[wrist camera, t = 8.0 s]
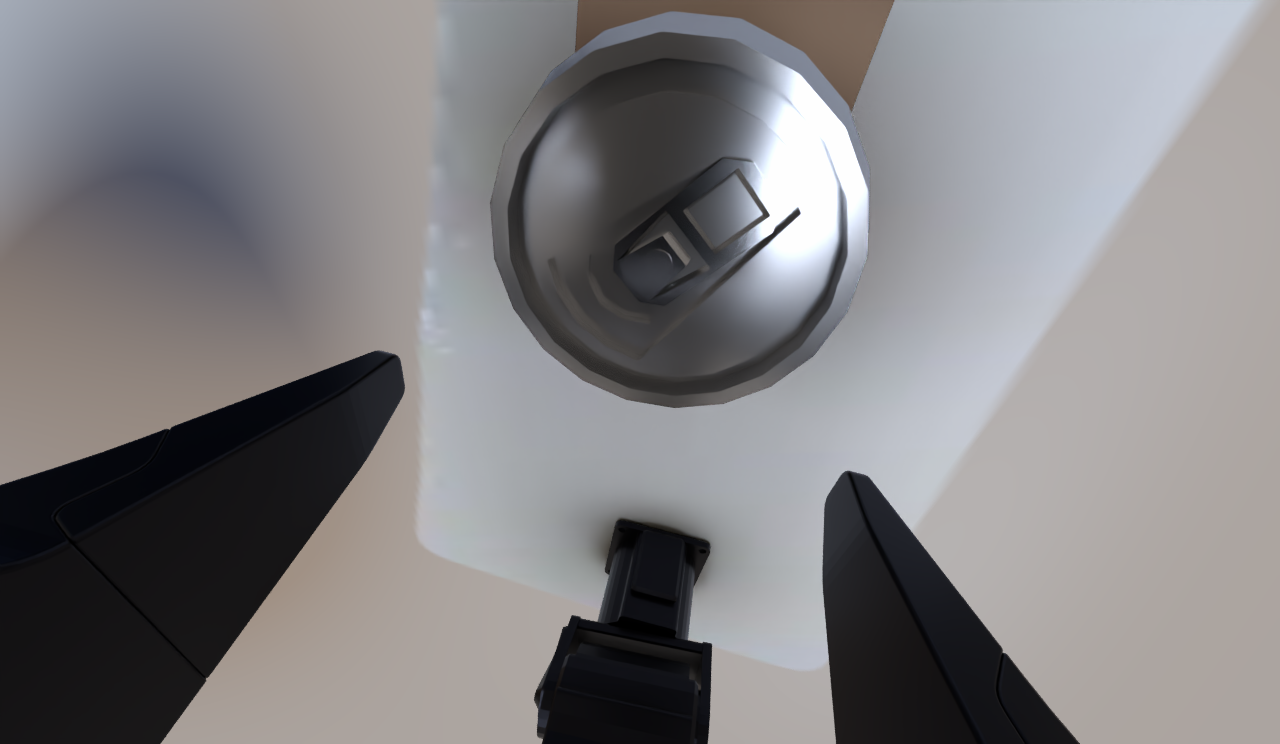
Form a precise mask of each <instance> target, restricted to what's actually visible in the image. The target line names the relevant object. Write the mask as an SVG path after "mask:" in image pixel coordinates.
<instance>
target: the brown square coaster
mask: <svg viewBox="0 0 1280 744" xmlns="http://www.w3.org/2000/svg"><path fill="white" fill-rule="evenodd" d="M893 2H894V0H578V13H577V30H576V46H575V53H576V52H577V51H578V50H579V49H581V48H582V47H583V46H585V45H586V44H587V43H589V42H590V41H591V40H593V39H594V38H595V37H596V36H598V35H599V34H600V33H602V32H603V31H604V30H608V29H611V28H614V27H618V26H621V25H625V24H628V23H632V22H635V21H639V20H642V19H645V18H649V17H652V16H656V15H659V14H663V13H666V12H670V11H675V12H684V13H694V14H704V15H714V16H723V17H733V18H742V19H743V20H745V21H747V22H749V23H751V24H753V25H755V26H757V27H758V28H760V29H762V30H764V31H766V32H768V33H770V34H771V35H773V36H775V37H777V38H779V39H781V40H783V41H785V42H786V43H788V44H790V45H792V46H794V47H796V48H798V49H799V50H801V51H803V52H804V53H805V54H806V55H807V56H808V58H809V59H810V60H811V61H812V62H813V63H814V65H815V66H816V67H817V68H818V69H819V71H820V72H821V73H822V74H823V75H824V77H825V78H826V79H827V80H828V81H829V83H830V84H831V85H832V86H833V87H834V89H835V90H836V91H837V92H838V93H839V95H840V96H841V97H842V98H843V99H844V101H845V102H846V103H847V104H848V106H849V109H850V112H851V111H852V108H853V106H854V103H855V101H856V98H857V95H858V93H859V90H860V88H861V85H862V83H863V80H864V77H865V75H866V72H867V70H868V67H869V64H870V62H871V59H872V57H873V54H874V52H875V49H876V46H877V44H878V41H879V39H880V36H881V33H882V31H883V28H884V26H885V23H886V21H887V18H888V15H889V13H890V10H891V8H892V5H893Z"/></svg>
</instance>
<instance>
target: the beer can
mask: <svg viewBox="0 0 1280 744" xmlns="http://www.w3.org/2000/svg"><path fill="white" fill-rule="evenodd" d="M869 200H870V167H869V164H868V161H867V158H866V155H865V152H864V149H863V146H862V144H861V141H860V138H859V135H858V132H857V129H856V126H855V123H854V120H853V117H852V114H851V112H850V109H849V106H848V104H847V103H846V102H845V101H844V99H843V98H842V97H841V96H840V95H839V93H838V92H837V91H836V90H835V89H834V87H833V86H832V85H831V84H830V83H829V81H828V80H827V79H826V78H825V77H824V75H823V74H822V73H821V72H820V71H819V69H818V68H817V67H816V66H815V65H814V63H813V62H812V61H811V60H810V59H809V58H808V56H807V55H806V54H805V53H804V52H803V51H801V50H799V49H798V48H796V47H794V46H792V45H790V44H788V43H786V42H785V41H783V40H781V39H779V38H777V37H775V36H773V35H771V34H770V33H768V32H766V31H764V30H762V29H760V28H758V27H757V26H755V25H753V24H751V23H749V22H747V21H745V20H743V19H742V18H733V17H723V16H714V15H704V14H694V13H684V12H675V11H670V12H666V13H663V14H659V15H656V16H652V17H649V18H645V19H642V20H639V21H635V22H632V23H628V24H625V25H621V26H618V27H614V28H611V29H608V30H604V31H603V32H602V33H600V34H599V35H598V36H596V37H595V38H594V39H593V40H591V41H590V42H589V43H587V44H586V45H585V46H583V47H582V48H581V49H579V50H578V51H577V52H576V53H574V54H573V55H572V56H570V57H569V58H568V59H566V60H565V61H564V62H562V63H561V64H560V65H559V66H557V67H556V68H555V69H553V70H552V71H551V72H550V74H549V76H548V77H547V79H546V80H545V82H544V83H543V85H542V87H541V88H540V90H539V91H538V93H537V94H536V96H535V97H534V99H533V101H532V102H531V104H530V105H529V107H528V108H527V110H526V111H525V113H524V115H523V116H522V118H521V119H520V121H519V122H518V124H517V126H516V127H515V129H514V131H513V132H512V134H511V135H510V137H509V138H508V140H507V141H506V143H505V145H504V148H503V152H502V156H501V160H500V165H499V169H498V173H497V177H496V181H495V185H494V190H493V194H492V198H491V202H490V207H491V220H492V233H493V246H494V259H495V262H496V264H497V267H498V270H499V272H500V275H501V277H502V280H503V283H504V285H505V288H506V290H507V293H508V296H509V298H510V301H511V303H512V306H513V309H514V310H515V311H516V313H517V314H518V315H519V317H520V318H521V319H522V321H523V322H524V323H525V325H526V326H527V328H528V329H529V330H530V332H531V333H532V334H533V336H534V337H535V338H536V340H537V341H538V342H539V344H540V345H541V346H542V348H543V349H544V350H545V351H546V352H548V353H549V354H550V355H551V356H553V357H554V358H555V359H556V360H558V361H559V362H560V363H561V364H563V365H564V366H565V367H567V368H568V369H569V370H570V371H572V372H573V373H574V374H575V375H577V376H578V377H579V378H580V379H582V380H583V381H585V382H588V383H590V384H592V385H594V386H597V387H599V388H601V389H603V390H606V391H608V392H610V393H612V394H615V395H617V396H619V397H621V398H624V399H626V400H631V401H636V402H642V403H648V404H654V405H660V406H666V407H672V408H680V407H691V406H703V405H715V404H724V403H727V402H730V401H732V400H735V399H738V398H741V397H743V396H746V395H749V394H752V393H754V392H757V391H760V390H763V389H766V388H768V387H771V386H772V385H774V384H775V383H776V382H778V381H779V380H781V379H782V378H783V377H785V376H786V375H788V374H789V373H790V372H792V371H793V370H795V369H796V368H797V367H799V366H800V365H802V364H803V363H804V362H806V361H807V360H809V359H810V358H811V357H813V356H814V355H815V353H816V352H817V351H818V350H819V348H820V347H821V346H822V344H823V343H824V342H825V340H826V339H827V338H828V337H829V335H830V334H831V333H832V331H833V330H834V329H835V327H836V326H837V325H838V324H839V322H840V321H841V320H842V318H843V317H844V316H845V314H846V313H847V312H848V309H849V306H850V304H851V301H852V298H853V295H854V293H855V290H856V287H857V284H858V281H859V279H860V276H861V273H862V270H863V267H864V265H865V262H866V259H867V256H868V233H869Z"/></svg>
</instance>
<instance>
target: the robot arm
mask: <svg viewBox="0 0 1280 744" xmlns="http://www.w3.org/2000/svg"><path fill="white" fill-rule="evenodd" d="M404 390H405V384H404V378H403V372H402V366H401V361H400V358H399V357H398V356H397V355H395V354H392V353H388V352H384V351H374V352H371V353H368V354H365V355H363V356H360V357H358V358H355V359H352V360H349V361H347V362H344V363H341V364H339V365H336V366H333V367H331V368H328V369H325V370H323V371H320V372H317V373H315V374H312V375H309V376H307V377H304V378H301V379H299V380H296V381H293V382H291V383H288V384H285V385H283V386H280V387H277V388H275V389H272V390H269V391H267V392H264V393H261V394H259V395H256V396H253V397H251V398H248V399H245V400H242V401H240V402H237V403H234V404H232V405H229V406H226V407H224V408H221V409H218V410H216V411H213V412H210V413H208V414H205V415H202V416H199V417H197V418H194V419H192V420H189V421H186V422H183V423H181V424H178V425H175V426H173V427H171V429H170V430H169V429H164V430H162V431H159V432H157V433H154V434H151V435H149V436H146V437H143V438H141V439H138V440H135V441H132V442H129V443H126V444H124V445H121V446H118V447H116V448H113V449H110V450H107V451H104V452H102V453H98V454H95V455H92V456H89V457H86V458H83V459H80V460H77V461H74V462H71V463H68V464H65V465H62V466H59V467H56V468H53V469H50V470H46V471H44V472H40V473H37V474H34V475H31V476H28V477H24V478H21V479H18V480H15V481H12V482H9V483H5V484H2V485H0V744H160V743H161V742H162V741H163V740H164V738H165V737H166V735H167V734H168V733H169V731H170V730H171V729H172V727H173V726H174V724H175V723H176V722H177V720H178V719H179V718H180V716H181V715H182V714H183V712H184V711H185V709H186V708H187V706H188V705H189V704H190V702H191V701H192V700H193V698H194V697H195V696H196V694H197V693H198V692H199V690H200V689H201V687H202V686H203V685H204V683H205V682H206V678H208V677H209V675H210V674H211V673H212V672H213V670H214V669H215V667H216V666H217V665H218V663H219V662H220V661H221V659H222V658H223V657H224V655H225V654H226V652H227V651H228V650H229V648H230V647H231V646H232V644H233V643H234V641H235V640H236V639H237V637H238V636H239V635H240V633H241V632H242V630H243V629H244V627H245V626H246V625H247V623H248V622H249V621H250V619H251V618H252V617H253V615H254V614H255V613H256V611H257V610H258V608H259V607H260V606H261V604H262V603H263V601H264V600H265V599H266V597H267V596H268V595H269V593H270V592H271V591H272V589H273V588H274V586H275V585H276V584H277V582H278V581H279V580H280V578H281V577H282V575H283V574H284V573H285V571H286V570H287V569H288V567H289V566H290V564H291V563H292V561H293V560H294V559H295V558H296V556H297V555H298V553H299V552H300V551H301V549H302V548H303V547H304V545H305V544H306V542H307V541H308V540H309V538H310V537H311V535H312V534H313V533H314V531H315V530H316V528H317V527H318V526H319V525H320V523H321V522H322V520H323V519H324V518H325V516H326V515H327V514H328V512H329V511H330V509H331V508H332V507H333V505H334V504H335V503H336V501H337V500H338V498H339V497H340V495H341V494H342V493H343V492H344V490H345V489H346V487H347V486H348V485H349V483H350V482H351V481H352V479H353V478H354V476H355V475H356V474H357V472H358V471H359V470H360V468H361V467H362V465H363V464H364V462H365V461H366V459H367V458H368V456H369V454H370V453H371V451H372V450H373V448H374V446H375V445H376V443H377V441H378V439H379V438H380V436H381V434H382V432H383V430H384V429H385V427H386V425H387V423H388V422H389V420H390V418H391V416H392V415H393V413H394V411H395V409H396V408H397V406H398V404H399V402H400V400H401V399H402V397H403V394H404ZM709 554H710V544H708V543H706V542H703V541H699V540H696V539H692V538H688V537H684V536H680V535H677V534H673V533H669V532H665V531H661V530H658V529H654V528H650V527H646V526H642V525H639V524H635V523H631V522H627V521H622V520H620V521H617V522H616V525H615V529H614V533H613V537H612V542H611V546H610V550H609V554H608V559H607V563H606V567H605V572H606V573H607V574H609V578H608V582H607V586H606V590H605V594H604V598H603V602H602V606H601V610H600V614H599V618H598V622H595V621H590V620H586V619H581V618H580V617H579V616H574V615H572V616H571V619H570V621H569V624H568V626H566V627H563V629H562V633H561V636H560V639H559V643H558V646H557V649H556V652H555V655H554V657H553V659H552V661H551V663H550V665H549V667H548V669H547V671H546V673H545V674H544V676H543V678H542V680H541V682H540V684H539V686H538V688H537V690H536V693H535V697H534V701H535V703H536V706H537V708H538V724H537V736H538V737H539V738H542V739H543V742H542V744H708V734H709V720H710V694H711V661H712V660H711V659H712V658H711V657H712V644H711V643H707V642H703V643H698V642H693V641H688V634H689V624H690V615H691V605H692V596H693V587H694V585H695V583H696V581H697V579H698V577H699V575H700V573H701V571H702V569H703V566H704V564H705V562H706V560H707V558H708V556H709ZM823 595H824V607H825V619H826V630H827V642H828V654H829V665H830V677H831V689H832V700H833V712H834V723H835V735H836V744H1080V743H1079V742H1078V741H1077V740H1076V738H1075V737H1074V736H1073V735H1072V734H1071V733H1070V731H1069V730H1068V729H1067V728H1066V727H1065V726H1064V724H1063V723H1062V722H1061V721H1060V720H1059V719H1058V718H1057V716H1056V715H1055V714H1054V713H1053V712H1052V710H1051V709H1050V708H1049V707H1048V705H1047V704H1046V703H1045V702H1044V700H1043V699H1042V698H1041V697H1040V695H1039V694H1038V693H1037V692H1036V690H1035V689H1034V688H1033V687H1032V685H1031V684H1030V683H1029V682H1028V680H1027V679H1026V678H1025V677H1024V675H1023V674H1022V673H1021V672H1020V670H1019V669H1018V668H1017V666H1016V665H1015V664H1014V663H1013V661H1012V660H1011V659H1010V657H1009V656H1008V655H1007V654H1006V653H1002V652H1003V650H1002V647H1001V646H1000V645H999V643H998V642H997V641H996V640H995V638H994V637H993V636H992V634H991V633H990V632H989V631H988V629H987V628H986V627H985V626H984V624H983V623H982V622H981V620H980V619H979V618H978V616H977V615H976V614H975V613H974V612H973V610H972V609H971V608H970V606H969V605H968V604H967V602H966V601H965V600H964V598H963V597H962V596H961V595H960V594H959V592H958V591H957V590H956V588H955V587H954V586H953V584H952V583H951V582H950V581H949V579H948V578H947V577H946V575H945V574H944V573H943V572H942V570H941V569H940V568H939V566H938V565H937V564H936V562H935V561H934V560H933V559H932V558H931V556H930V555H929V554H928V552H927V551H926V550H925V549H924V547H923V546H922V545H921V543H920V542H919V541H918V539H917V538H916V537H915V536H914V534H913V533H912V532H911V530H910V529H909V528H908V527H907V525H906V524H905V523H904V521H903V520H902V519H901V518H900V516H899V515H898V514H897V512H896V511H895V510H894V509H893V507H892V506H891V505H890V503H889V502H888V501H887V500H886V498H885V497H884V496H883V494H882V493H881V492H880V491H879V489H878V488H877V487H876V485H875V484H874V483H873V482H872V480H871V479H870V478H869V477H868V476H866V475H864V474H860V473H856V472H852V471H845V472H844V473H843V474H842V475H841V476H840V478H839V479H838V481H837V482H836V484H835V485H834V487H833V488H832V490H831V491H830V493H829V494H828V496H827V498H826V502H825V509H824V540H823Z"/></svg>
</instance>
